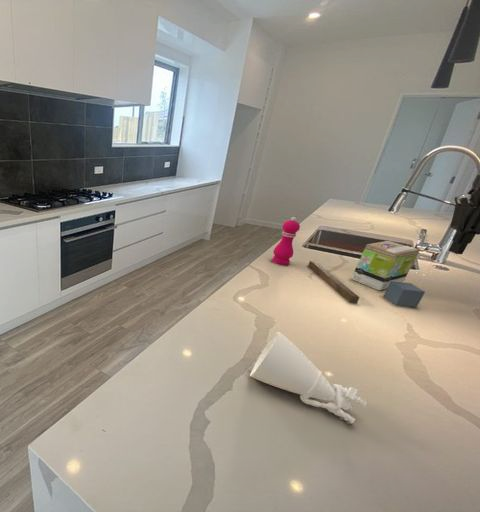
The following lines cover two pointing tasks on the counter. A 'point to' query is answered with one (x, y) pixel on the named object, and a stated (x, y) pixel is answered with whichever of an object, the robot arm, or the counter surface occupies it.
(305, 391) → the rocket engine
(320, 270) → the brown wooden stick
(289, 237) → the pepper mill
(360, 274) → the tea box
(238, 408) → the counter surface
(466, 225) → the robot arm
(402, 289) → the blue block
